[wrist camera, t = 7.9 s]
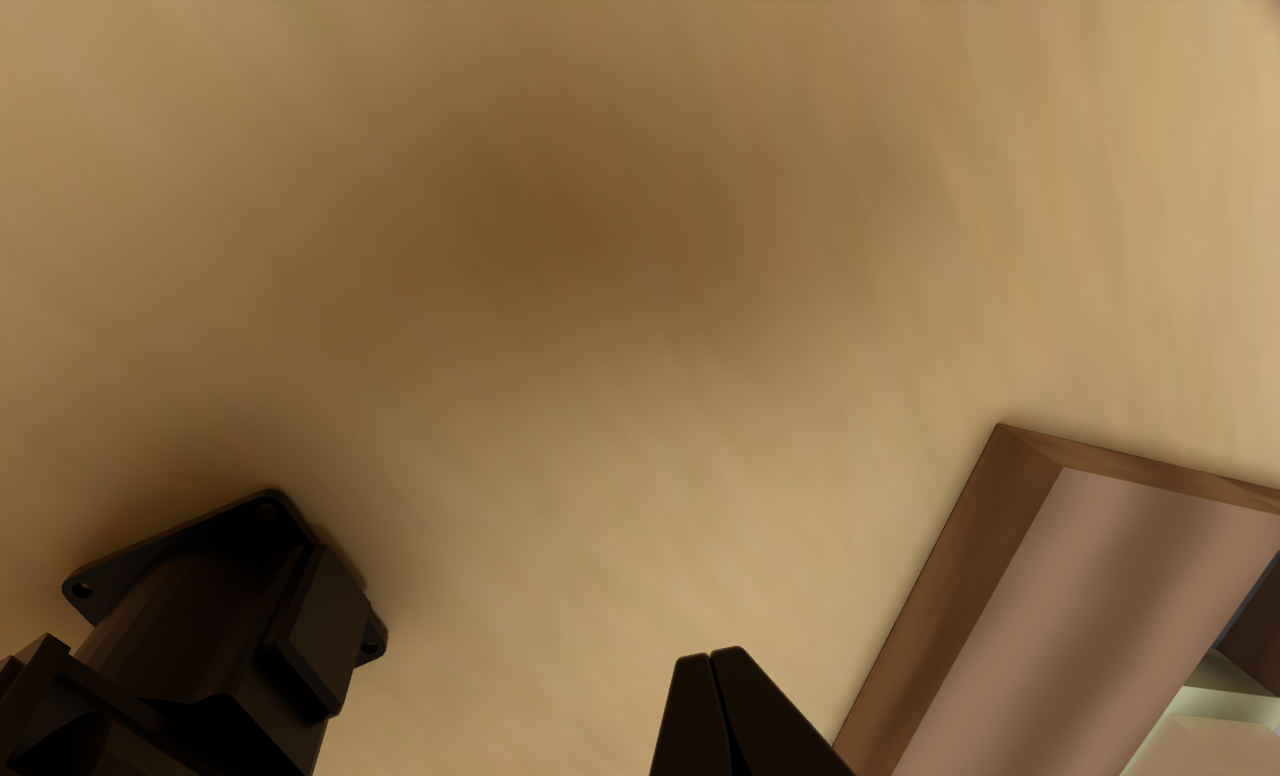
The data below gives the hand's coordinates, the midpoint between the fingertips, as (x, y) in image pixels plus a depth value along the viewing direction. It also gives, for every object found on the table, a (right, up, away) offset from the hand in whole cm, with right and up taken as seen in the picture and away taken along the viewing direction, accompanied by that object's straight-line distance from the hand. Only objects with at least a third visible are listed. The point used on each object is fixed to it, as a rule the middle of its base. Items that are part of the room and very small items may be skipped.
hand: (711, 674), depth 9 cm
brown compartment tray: (+15, -9, +20) cm, 27 cm away
